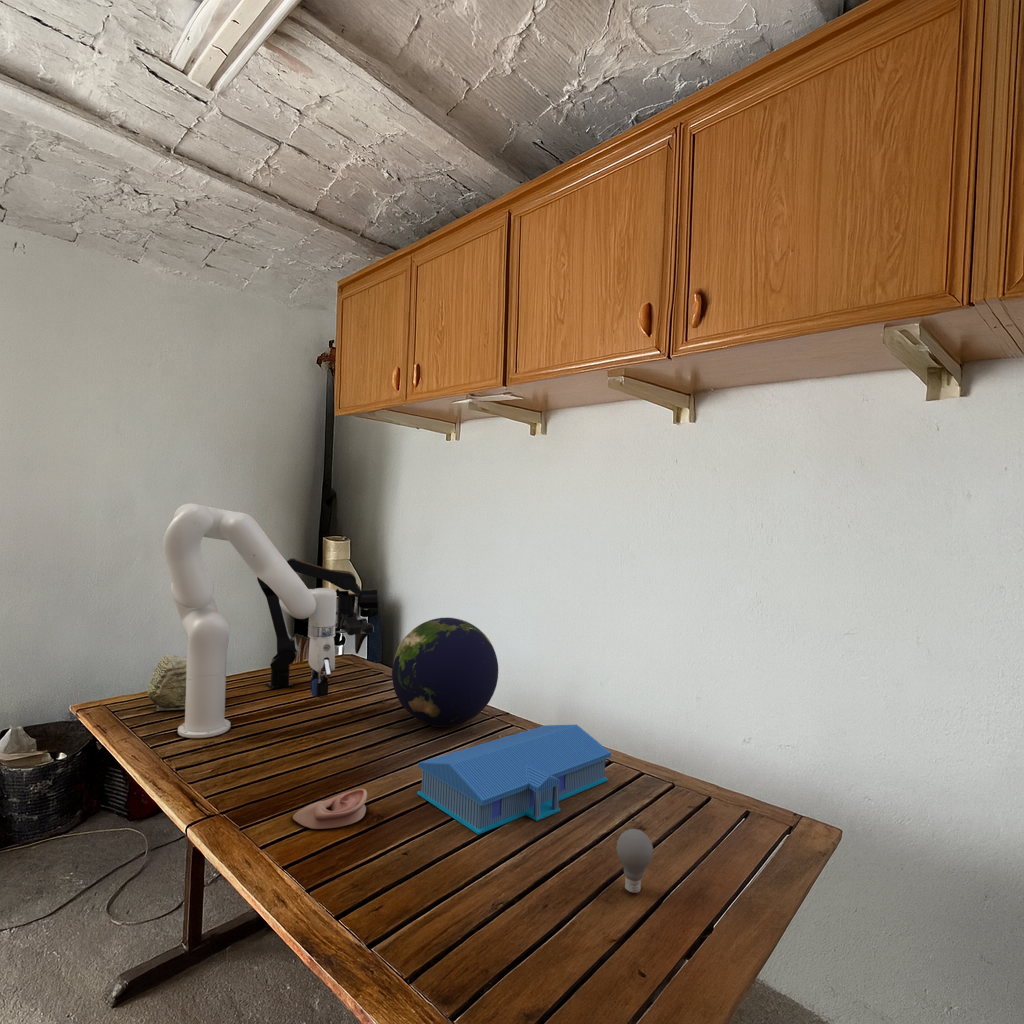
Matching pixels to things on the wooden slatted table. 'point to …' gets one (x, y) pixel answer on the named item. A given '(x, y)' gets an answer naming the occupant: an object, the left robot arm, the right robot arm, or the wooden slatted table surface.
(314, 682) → the canister
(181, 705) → the fossil
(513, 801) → the model building
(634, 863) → the light bulb
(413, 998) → the wooden slatted table surface
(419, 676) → the globe
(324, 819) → the anatomical model
